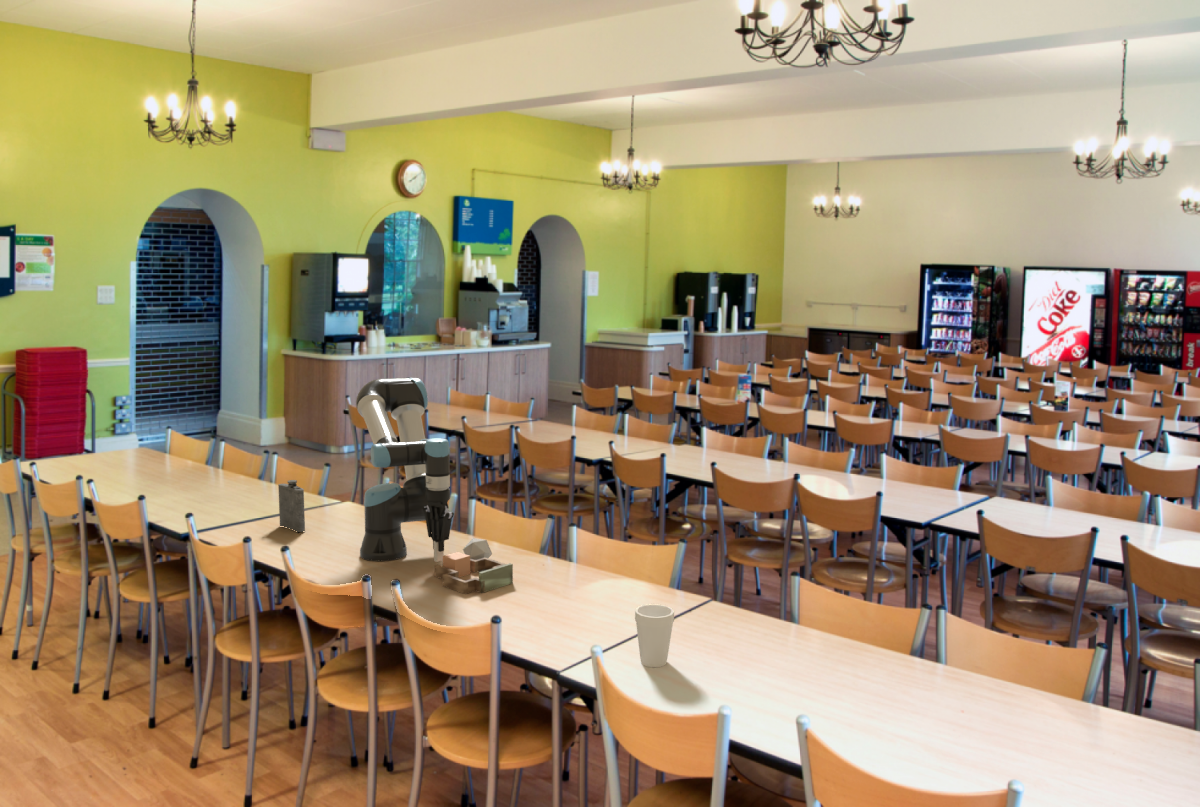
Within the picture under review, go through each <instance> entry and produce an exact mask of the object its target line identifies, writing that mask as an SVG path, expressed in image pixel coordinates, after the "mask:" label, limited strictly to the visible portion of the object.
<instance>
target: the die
mask: <svg viewBox="0 0 1200 807" xmlns="http://www.w3.org/2000/svg"><path fill="white" fill-rule="evenodd" d="M462 550H463V554H466V555H469V556H470V558H471V559H474V560H478V559H481V558H489V559H490V557H491V556H492V555H493V552H492V550H491V547H490V545H489V542H488V540H487V539H483V538H476V537H475V538H474V537H472V539H471V540H470V541H468V543H467V544H466V545H465V546H464V547H463V549H462Z"/></svg>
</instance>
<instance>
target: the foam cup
mask: <svg viewBox="0 0 1200 807" xmlns="http://www.w3.org/2000/svg"><path fill="white" fill-rule="evenodd" d="M634 619H635V626H636V633H637V640H638V641H637V642H638V651H639V659H640V663H641V665H643V666H645V667H648V668H660V667H661V668H662V667H664V666H665V665H666V664H667V663H668V657H669V651H670V650H669V649H670V644H671V638H672V631H673V624H674V622H675V611H674V609H673V608H672V607H670V606H668V605H666V604H665V605H664V604H659V603H658V604H657V603H651V604H649V603H648V604H642V605H639V606H637V607H636V608H635V609H634Z"/></svg>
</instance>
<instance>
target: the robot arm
mask: <svg viewBox="0 0 1200 807" xmlns="http://www.w3.org/2000/svg"><path fill="white" fill-rule="evenodd" d="M426 388H427V387H426V386H425V383H424V381H422V379H420V378H418V377H404V378H402V377H401V378H400V377H399V378H376V379H373V380H371V381H369V382H367V383H366V384H365V385H363V386H362V387H361V389H359V392H358V393H357V396H356V401H355V406H356V410H357V412H358V414H359V415H360V416H361V417H362V418H363V420H364V422H365V425H366V428H367V431H368V434H369V436H370V439H371V442H372V443H373V444H372V445H371V446H370V447H371V448H370V460H371V462H370V463H371V465H372V467H374V468H393V467H403V466H404V472H405V479H406V480H405V481H404V482H403V484H402V485H403V487H401V484H399V483H397V482H396V483H395V482H391V483H389V482H388V483H387V482H385V483H381V484H376V485H374V486H371V487H369V488H368V489H366V491H365V492H364V496H363V497H364V499H363V500H364V501H363V507H364V536H363V537H362V538H363V539H362V541H361V542H362V543H361V546H360V548H359V556H360V558H361V559H363V560H365V561H369V562H389V561H390V562H391V561H395V560H399V559H403V558H404V557H406V556H407V553H408V552H407V549H408V547H407V545H406V542H405V538H404V536H403V533H402V526H401V525H402V523H413V522H423V521H424V522H425V524H426V530H427V536H428V537H429V538H431V540H432V548H433V561H434V562H435V563H438V562H439V563H440V562H443V556H444V555H445V554H444V552H445V541H448V540H449V539H450V534H451V527H452V520H453V517H454V515H455V513H454V511H450V508H449V504H448V503H449V501H450V499H451V490H450V488H449V487H451V475H450V472H451V470H450V467H451V466H450V462H451V461H450V452H451V450H450V443H449V442H450V441H449V440H448V439H447V438H442V437H441V438H440V437H437V438H426V436H425V431H424V425H423V424H424V423H423V420H422V416H423V415H424V414H425V410H426V409H427V408H428V405H429V404H428V403H429V401H428V400H429V399H428V392H427V389H426ZM387 412H390V416H391V418H392V419H393V420H395V421H396V424H397V425H396V426H397V430H398V431H397V432H398V434H399V436H398V437H399V441H398V438H397V437H396V434H395V431H394V429H393V426H392V424H391V421H390V419H389V417H388V414H387Z"/></svg>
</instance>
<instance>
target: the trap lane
mask: <svg viewBox="0 0 1200 807" xmlns="http://www.w3.org/2000/svg"><path fill="white" fill-rule="evenodd" d="M513 568H514V565H513V563H511V562H509V563H504V562H501V561H498V560H495V559H492V558H490V557H489V558H481V559H478V560H474V559H471V558H470V572H473V573H478V577H473V578H470V579H466V580H465V579H461V578H460V577H459V572H458V571H455V570H452V569H449V568H446V567H443V565H439V564H436V565H434V578H439V579H442V581H441V582H442V587H444V588H447V589H449V590H453V591H455V592H458V593H461V594H463V595H466V594H469V593H473V592H476V593H477V592H478V593H480V594H483V593H486V592H489V591H492V590H496V589H499V588H501V587H505V586H508V585H511V584H513V582H514V581H513V580H514V578H513V576H514V575H513V574H514V573H513V570H514V569H513Z"/></svg>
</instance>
